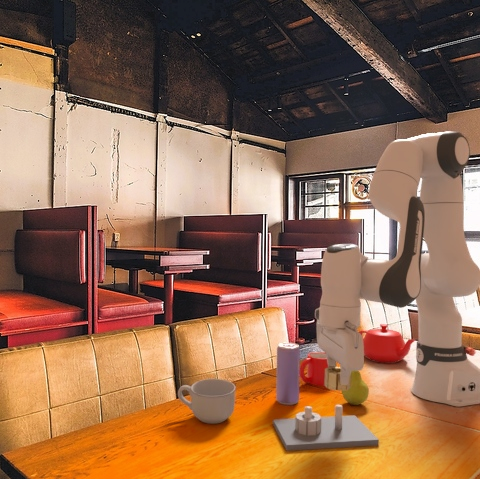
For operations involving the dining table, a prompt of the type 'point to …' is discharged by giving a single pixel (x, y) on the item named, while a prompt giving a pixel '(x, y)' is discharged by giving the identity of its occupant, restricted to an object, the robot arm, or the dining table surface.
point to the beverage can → (287, 373)
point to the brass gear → (335, 379)
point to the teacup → (210, 399)
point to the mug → (314, 368)
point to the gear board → (323, 431)
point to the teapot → (385, 345)
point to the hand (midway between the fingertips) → (337, 378)
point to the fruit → (356, 390)
